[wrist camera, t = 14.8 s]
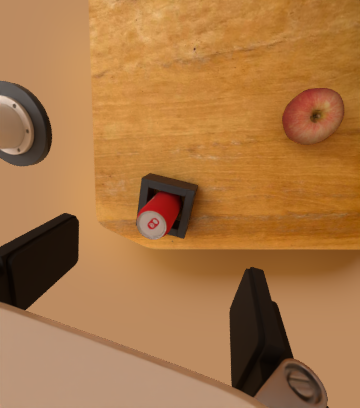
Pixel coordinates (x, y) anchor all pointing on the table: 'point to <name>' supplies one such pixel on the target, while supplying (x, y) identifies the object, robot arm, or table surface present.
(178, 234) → the frame
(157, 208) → the beverage can
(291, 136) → the apple
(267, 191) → the table surface
